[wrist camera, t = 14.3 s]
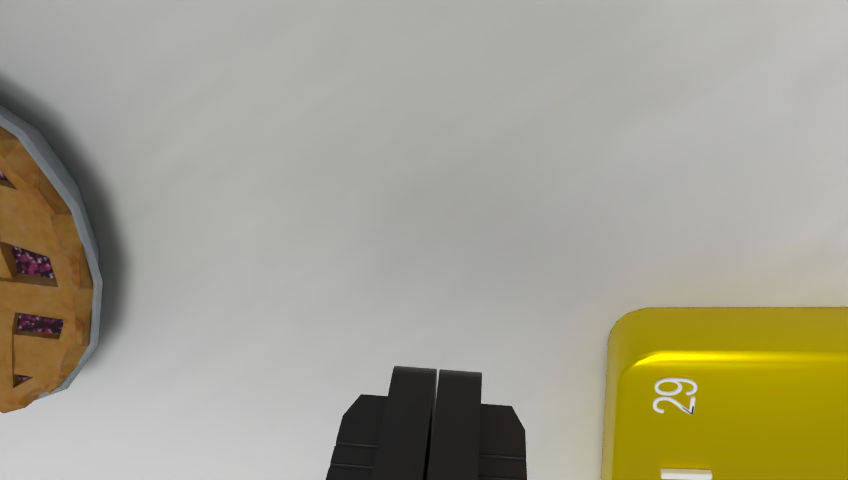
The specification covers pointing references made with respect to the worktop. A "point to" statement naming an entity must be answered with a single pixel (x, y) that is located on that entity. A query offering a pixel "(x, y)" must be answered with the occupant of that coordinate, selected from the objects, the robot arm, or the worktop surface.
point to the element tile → (727, 394)
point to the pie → (42, 269)
